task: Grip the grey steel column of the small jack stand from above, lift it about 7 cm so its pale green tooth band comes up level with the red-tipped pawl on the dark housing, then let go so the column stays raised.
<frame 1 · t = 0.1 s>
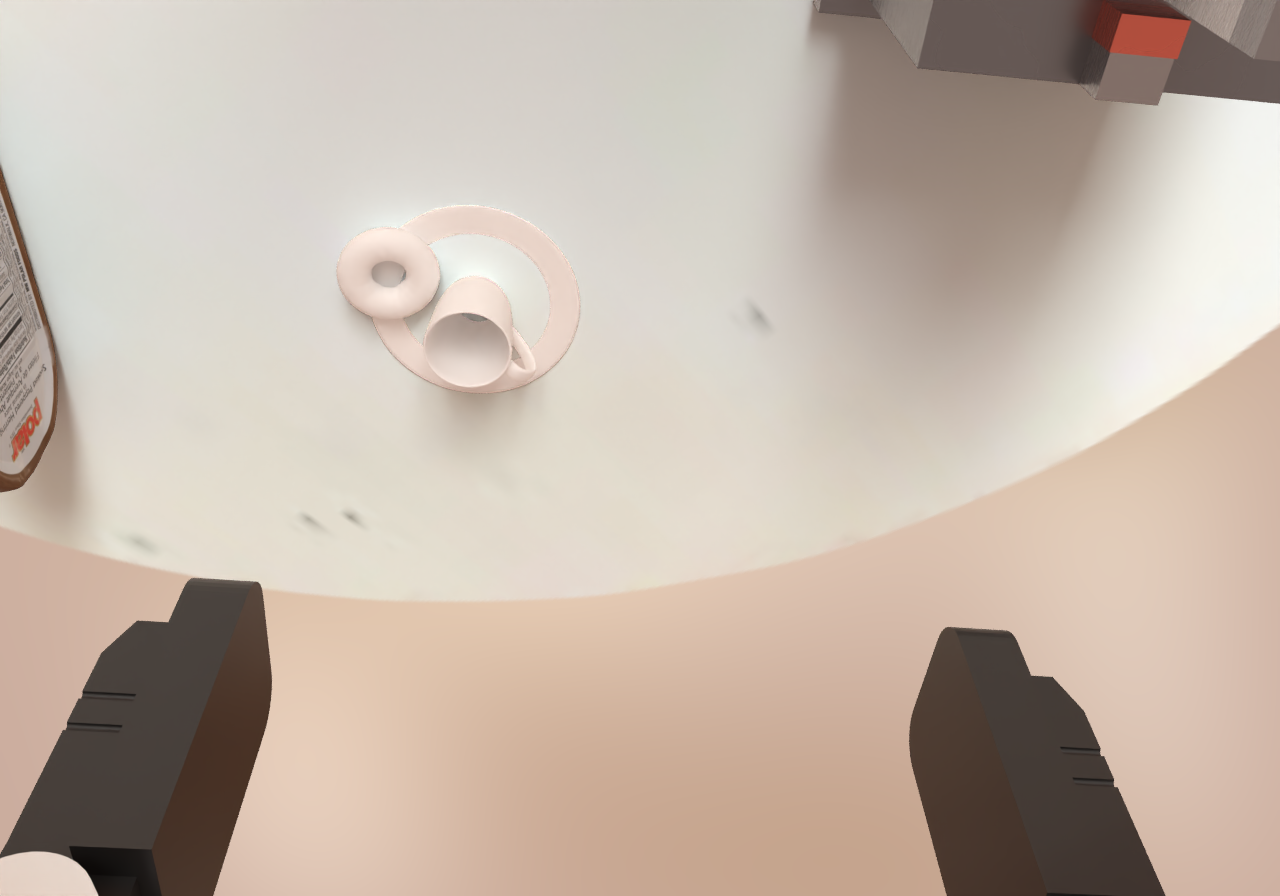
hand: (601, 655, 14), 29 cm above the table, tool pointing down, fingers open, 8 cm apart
teacup and saucer: (471, 219, 43), on the table
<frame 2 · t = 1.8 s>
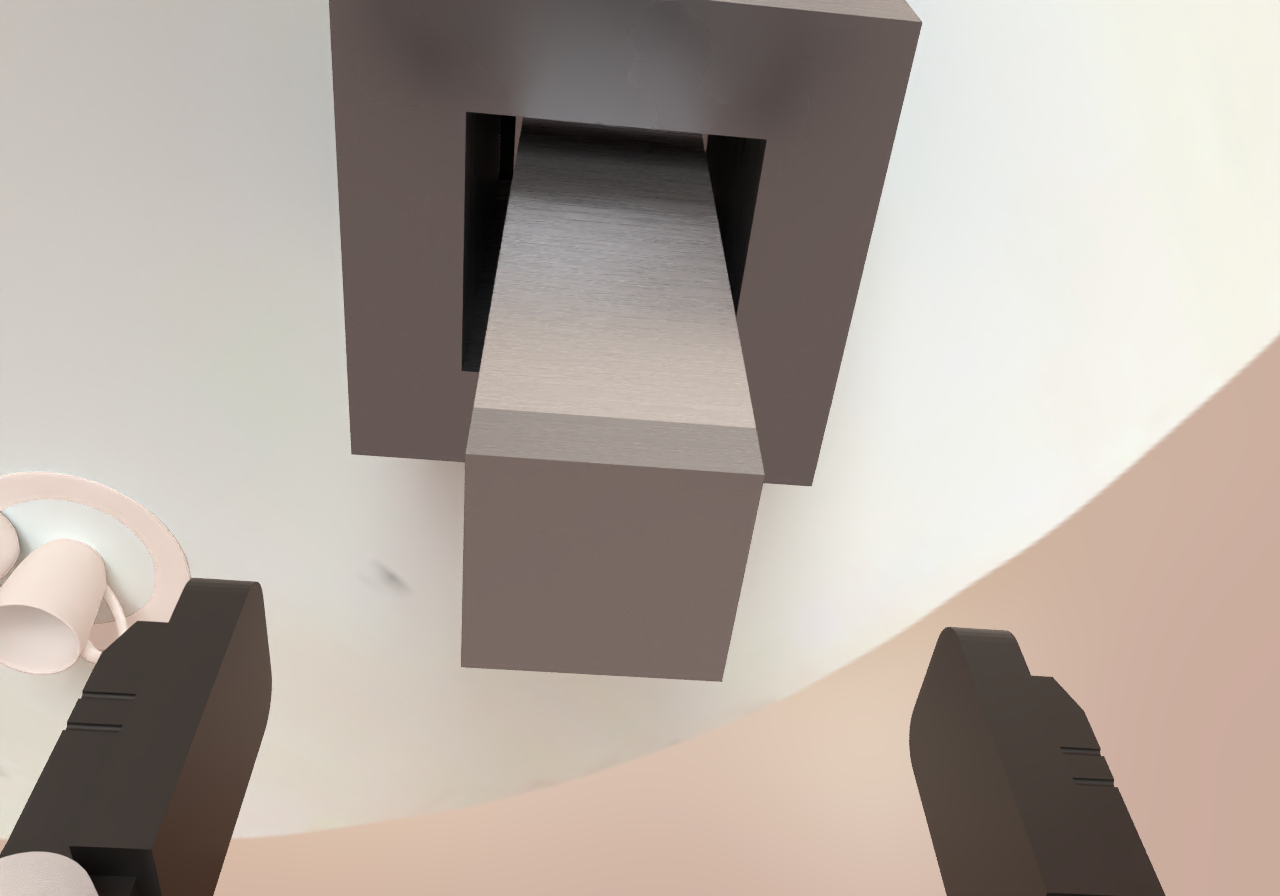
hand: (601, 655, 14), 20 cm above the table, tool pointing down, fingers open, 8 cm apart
housing: (605, 90, 30), on the table
column: (605, 250, 23), point 9 cm above the table, slide at 0.0 cm
teacup and saucer: (52, 480, 38), on the table
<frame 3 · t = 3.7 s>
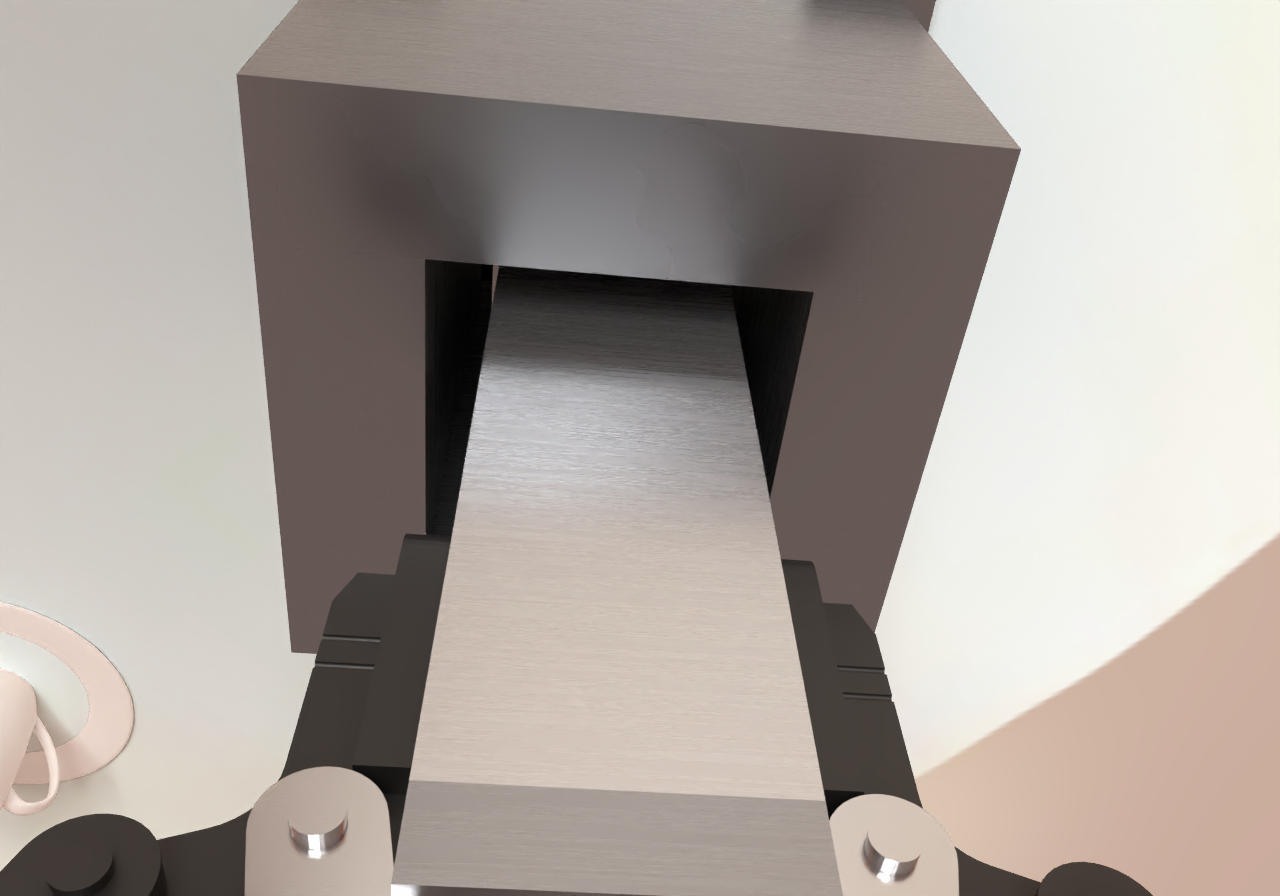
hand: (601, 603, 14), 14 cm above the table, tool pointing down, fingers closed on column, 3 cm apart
housing: (606, 181, 26), on the table
column: (605, 417, 18), point 9 cm above the table, slide at 0.0 cm, touching gripper
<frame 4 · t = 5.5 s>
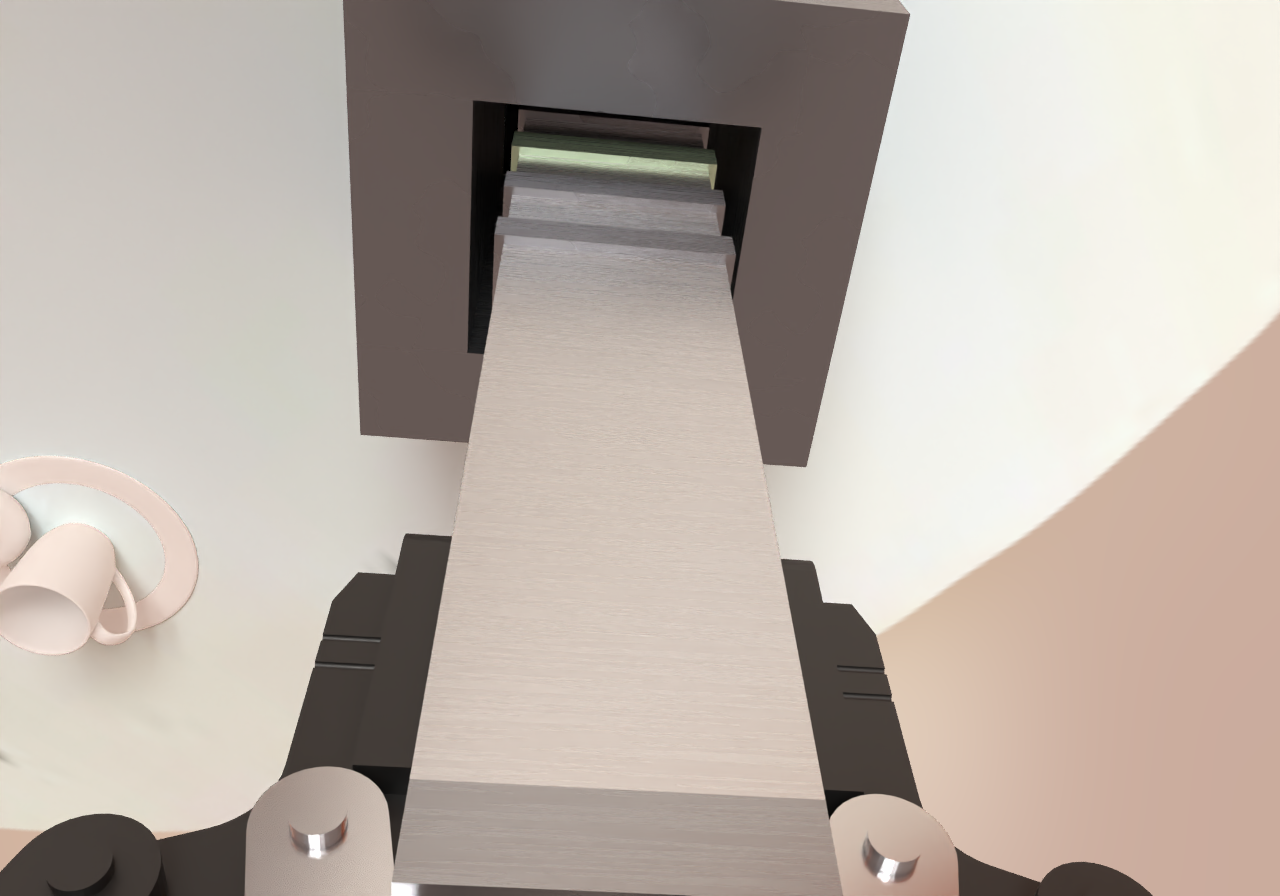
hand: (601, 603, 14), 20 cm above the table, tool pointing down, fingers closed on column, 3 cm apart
housing: (607, 88, 31), on the table
column: (605, 419, 18), point 16 cm above the table, slide at 6.7 cm, touching gripper
teacup and saucer: (64, 465, 39), on the table
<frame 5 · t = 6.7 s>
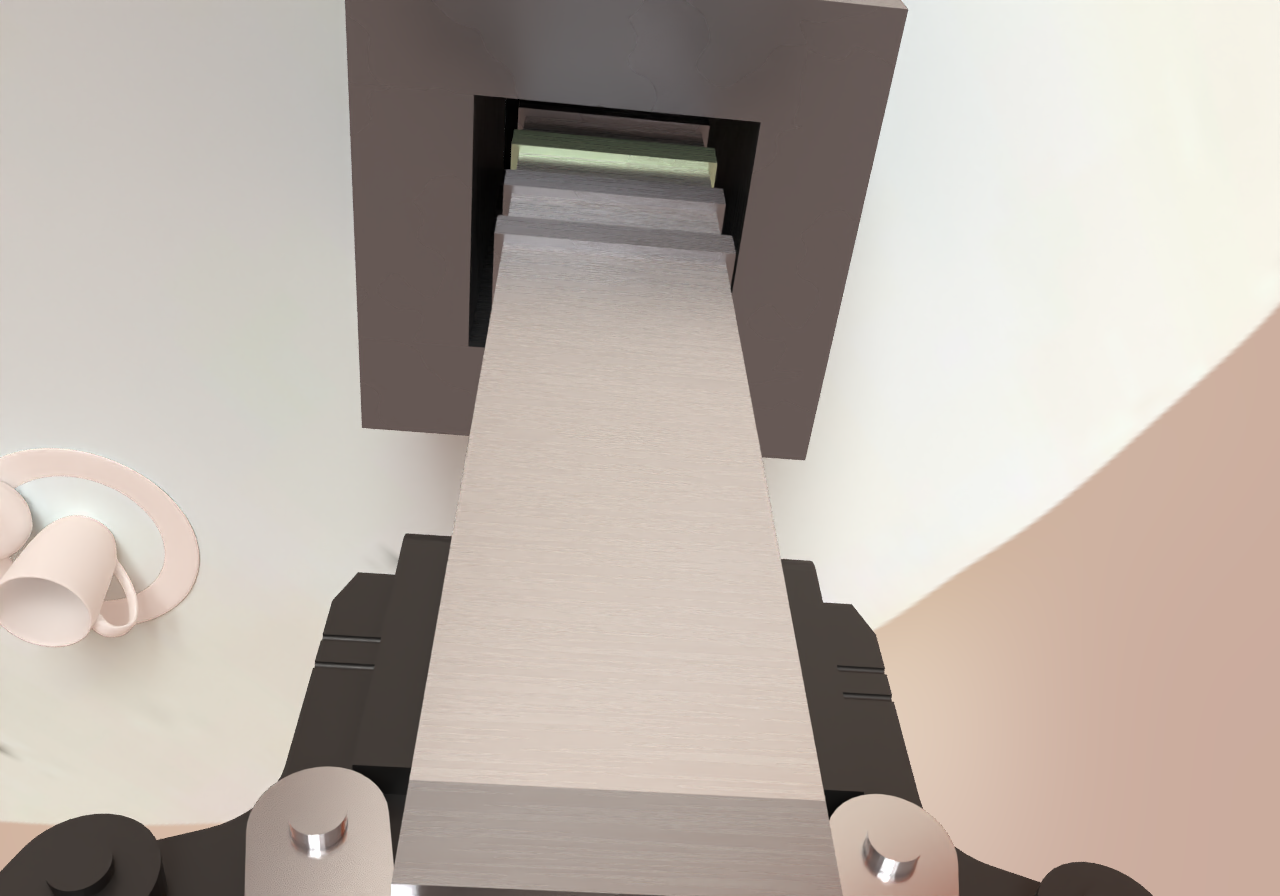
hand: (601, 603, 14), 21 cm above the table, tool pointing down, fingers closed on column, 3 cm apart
housing: (607, 83, 31), on the table
column: (605, 418, 18), point 16 cm above the table, slide at 6.9 cm, touching gripper
teacup and saucer: (65, 457, 39), on the table
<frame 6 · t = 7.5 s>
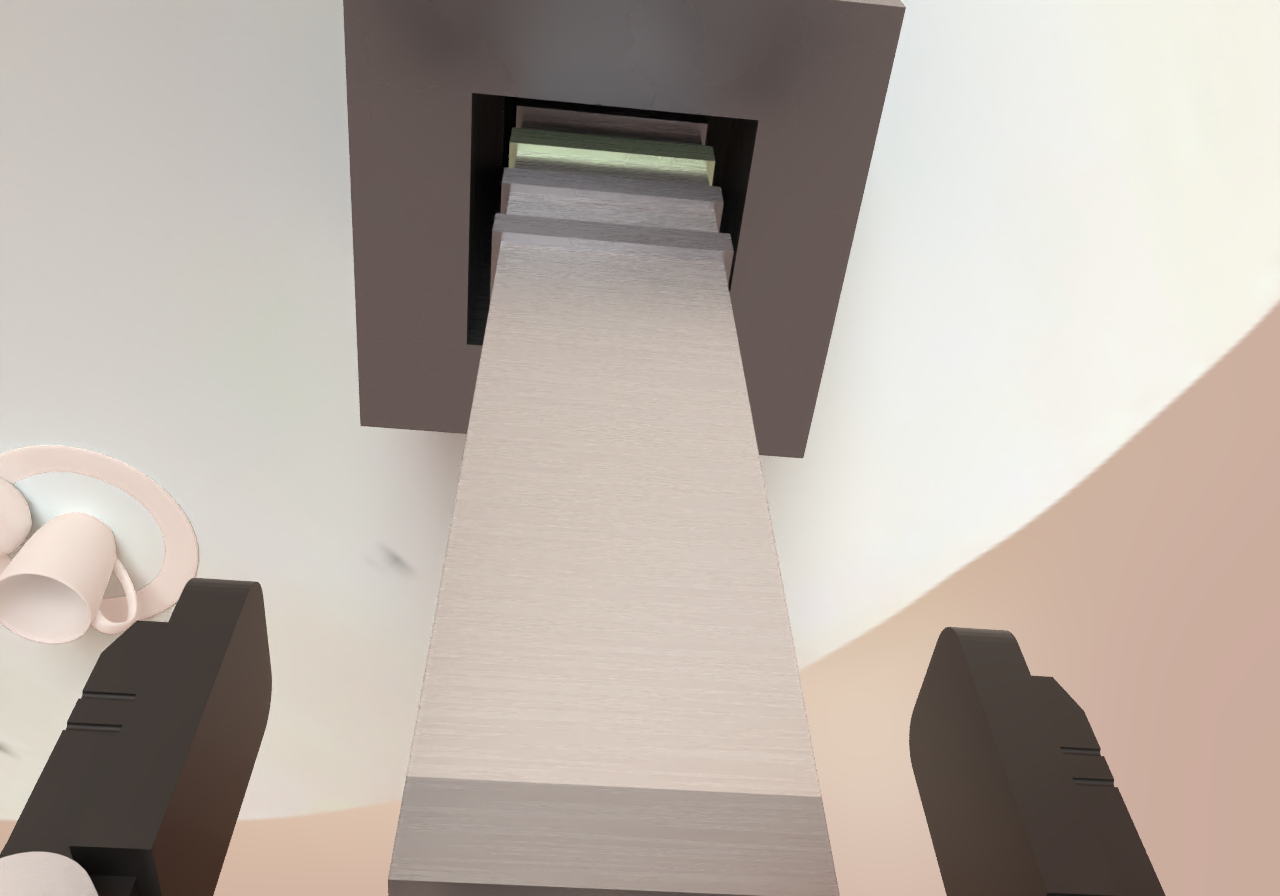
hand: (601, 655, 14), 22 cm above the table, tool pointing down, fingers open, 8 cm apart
housing: (605, 81, 31), on the table
column: (603, 416, 18), point 16 cm above the table, slide at 6.9 cm
teacup and saucer: (64, 454, 39), on the table
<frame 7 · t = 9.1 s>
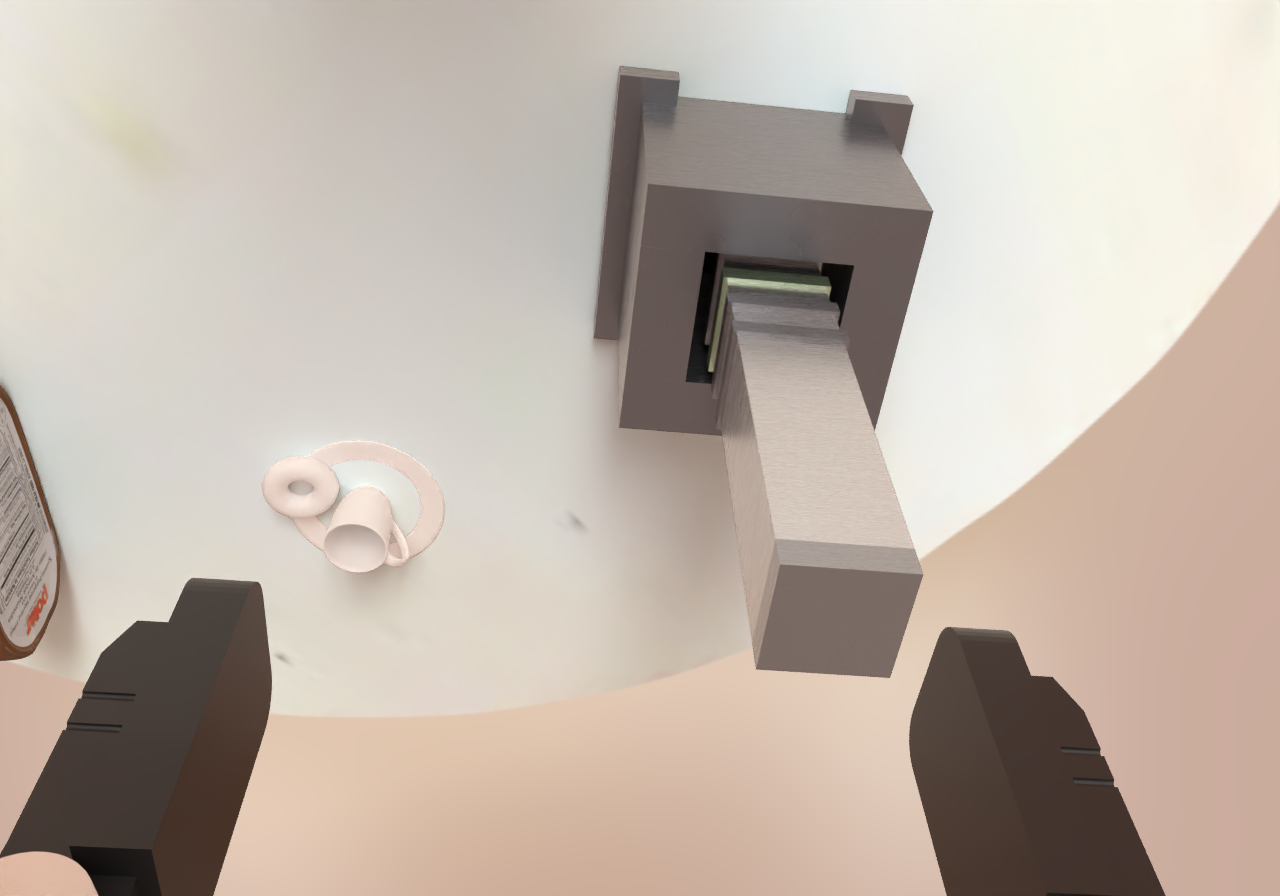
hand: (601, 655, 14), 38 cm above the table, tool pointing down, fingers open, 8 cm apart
tin: (19, 467, 58), on the table
housing: (742, 217, 51), on the table
column: (789, 420, 37), point 16 cm above the table, slide at 6.9 cm
teacup and saucer: (362, 447, 58), on the table
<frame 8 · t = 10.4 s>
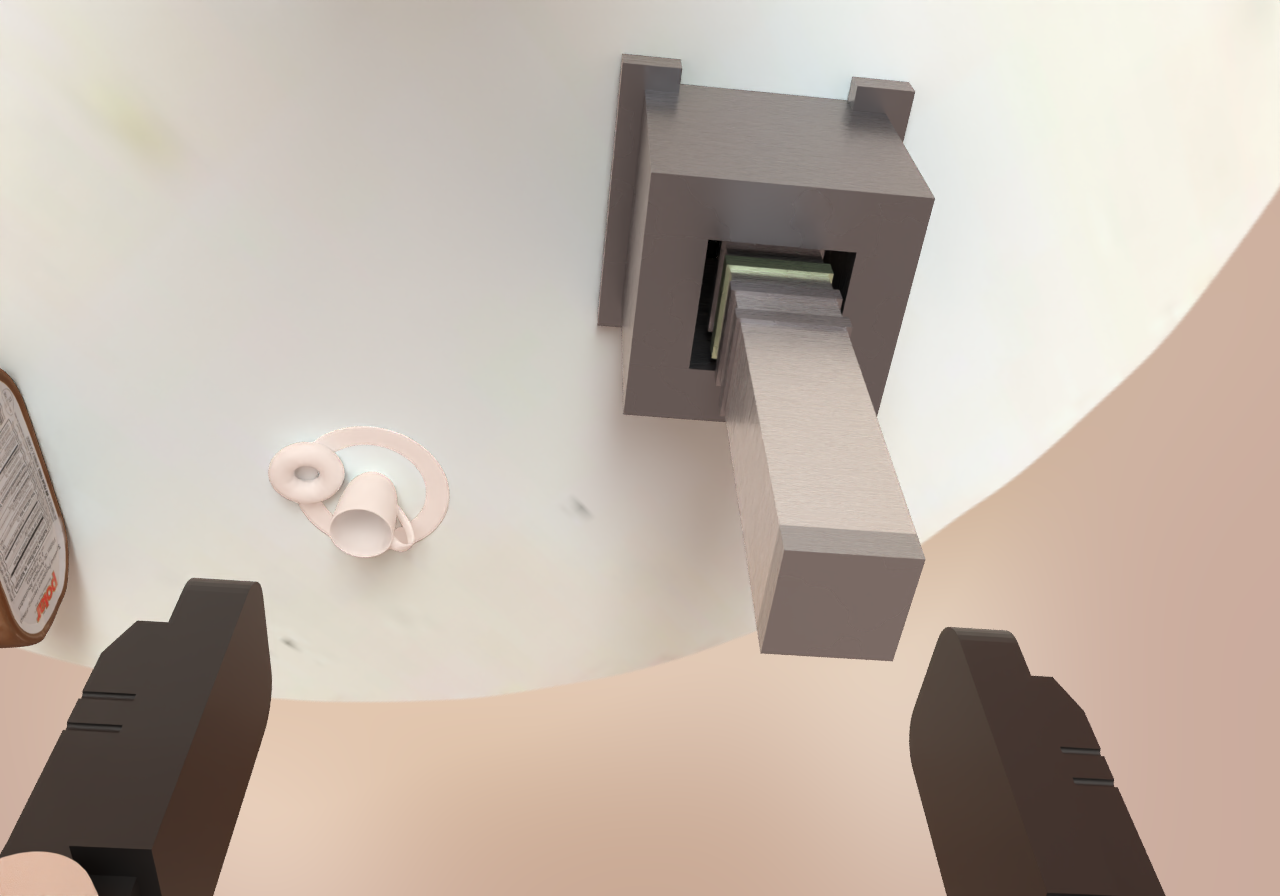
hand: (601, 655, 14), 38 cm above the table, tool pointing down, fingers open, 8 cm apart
tin: (27, 456, 58), on the table
housing: (744, 204, 51), on the table
column: (792, 407, 38), point 16 cm above the table, slide at 6.9 cm
teacup and saucer: (367, 432, 59), on the table
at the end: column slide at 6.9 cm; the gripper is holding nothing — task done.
